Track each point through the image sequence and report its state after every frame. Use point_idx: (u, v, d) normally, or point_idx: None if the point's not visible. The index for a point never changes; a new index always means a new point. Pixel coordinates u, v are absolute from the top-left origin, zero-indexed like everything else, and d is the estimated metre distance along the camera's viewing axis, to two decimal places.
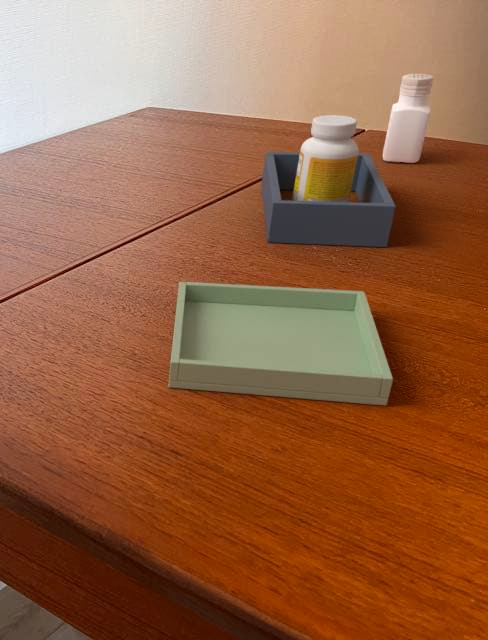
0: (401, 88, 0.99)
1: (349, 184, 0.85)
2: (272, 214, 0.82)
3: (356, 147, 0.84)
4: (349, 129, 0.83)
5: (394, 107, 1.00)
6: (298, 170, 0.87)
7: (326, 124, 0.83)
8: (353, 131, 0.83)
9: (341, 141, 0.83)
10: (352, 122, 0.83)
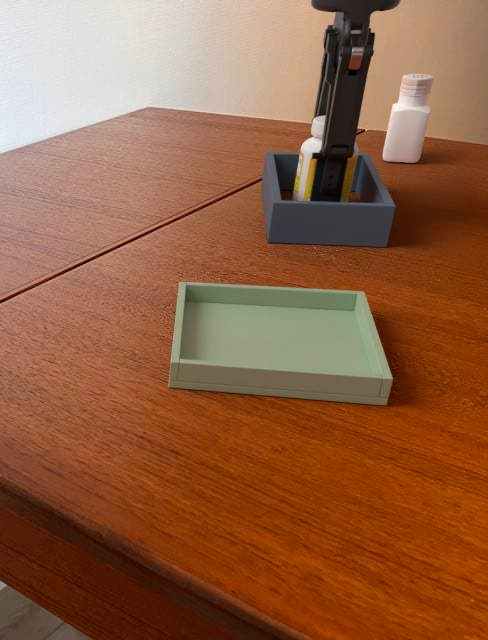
0: (401, 88, 0.99)
1: (349, 184, 0.85)
2: (272, 214, 0.82)
3: (356, 147, 0.84)
4: None
5: (394, 107, 1.00)
6: (298, 170, 0.87)
7: None
8: None
9: None
10: None
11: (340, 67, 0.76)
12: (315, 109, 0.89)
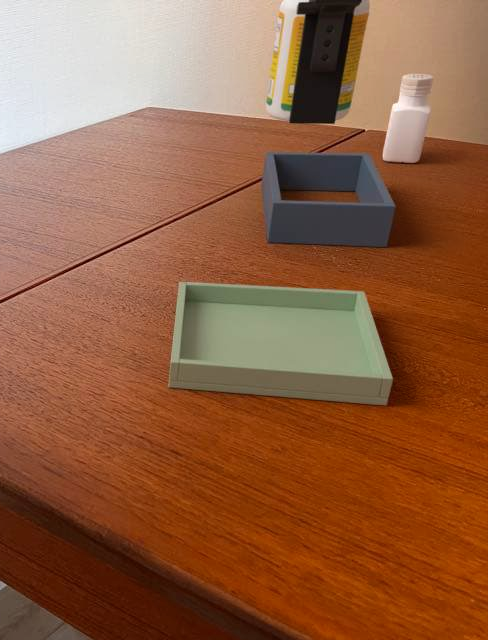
0: (401, 88, 0.99)
1: (355, 61, 0.55)
2: (272, 214, 0.82)
3: (366, 0, 0.53)
4: None
5: (394, 107, 1.00)
6: (276, 43, 0.56)
7: None
8: None
9: None
10: None
11: None
12: None
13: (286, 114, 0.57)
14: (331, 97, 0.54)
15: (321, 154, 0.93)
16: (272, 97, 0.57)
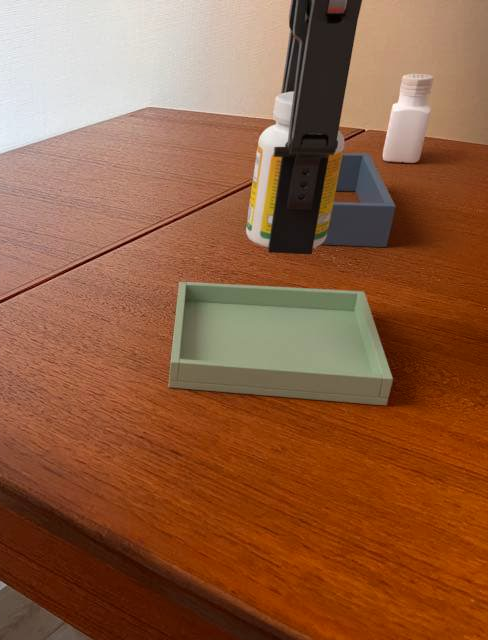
0: (401, 88, 0.99)
1: (330, 195, 0.57)
2: None
3: (341, 139, 0.55)
4: None
5: (394, 107, 1.00)
6: (255, 173, 0.58)
7: None
8: None
9: None
10: None
11: (314, 9, 0.47)
12: (283, 84, 0.60)
13: (265, 241, 0.59)
14: (308, 230, 0.56)
15: None
16: (252, 224, 0.59)
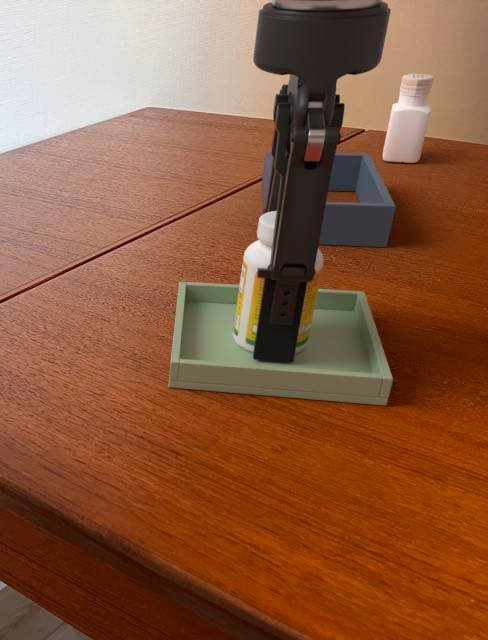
0: (401, 88, 0.99)
1: (311, 307, 0.61)
2: None
3: (320, 258, 0.59)
4: None
5: (394, 107, 1.00)
6: (241, 285, 0.62)
7: None
8: None
9: None
10: None
11: (292, 157, 0.52)
12: (267, 197, 0.65)
13: (250, 347, 0.63)
14: (289, 341, 0.60)
15: None
16: (238, 330, 0.63)
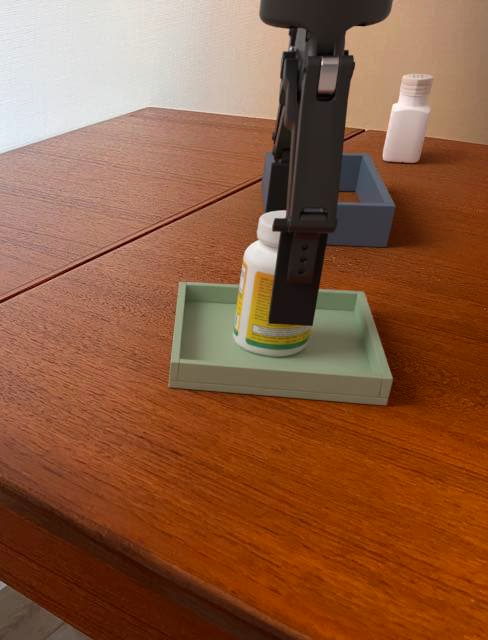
0: (401, 88, 0.99)
1: None
2: None
3: None
4: None
5: (394, 107, 1.00)
6: (240, 285, 0.62)
7: None
8: None
9: None
10: None
11: (305, 87, 0.49)
12: (276, 124, 0.65)
13: (250, 347, 0.63)
14: (308, 302, 0.55)
15: None
16: (238, 330, 0.63)
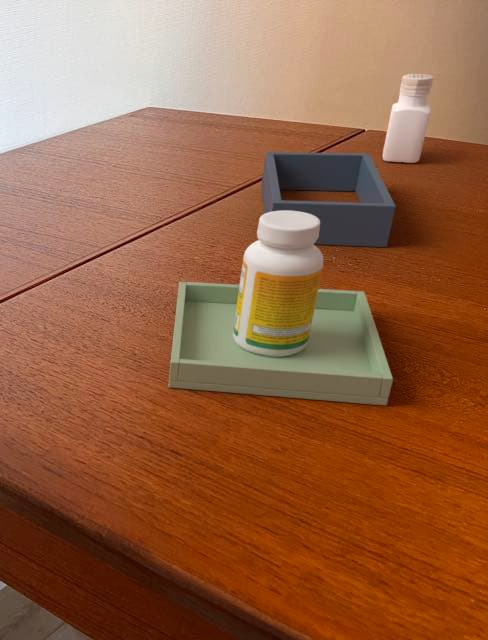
0: (401, 88, 0.99)
1: (311, 307, 0.61)
2: None
3: (320, 258, 0.59)
4: (309, 235, 0.58)
5: (394, 107, 1.00)
6: (241, 285, 0.62)
7: (276, 227, 0.58)
8: (315, 237, 0.59)
9: (298, 250, 0.59)
10: (313, 225, 0.58)
11: None
12: None
13: (250, 347, 0.63)
14: None
15: (321, 154, 0.93)
16: (238, 330, 0.63)
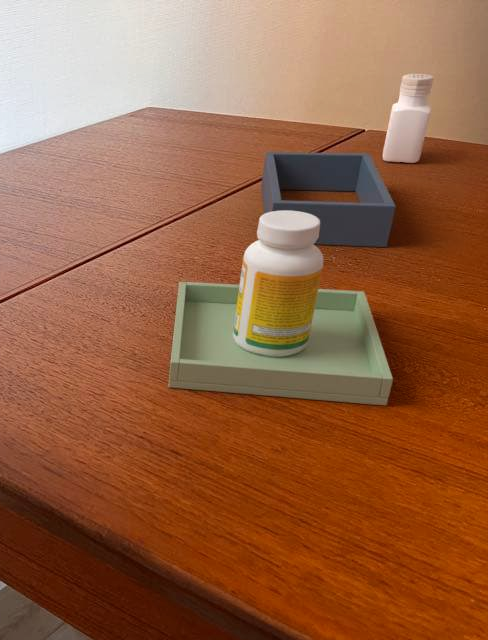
0: (401, 88, 0.99)
1: (311, 307, 0.61)
2: None
3: (320, 258, 0.59)
4: (309, 235, 0.58)
5: (394, 107, 1.00)
6: (241, 285, 0.62)
7: (276, 227, 0.58)
8: (315, 237, 0.59)
9: (298, 250, 0.59)
10: (313, 225, 0.58)
11: None
12: None
13: (250, 347, 0.63)
14: None
15: (321, 154, 0.93)
16: (238, 330, 0.63)
